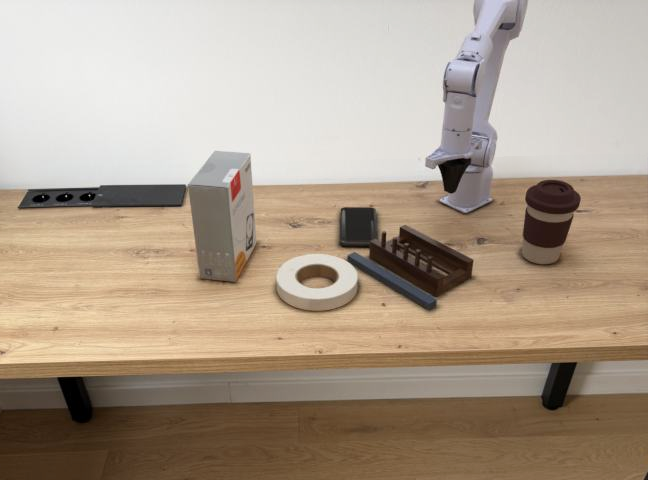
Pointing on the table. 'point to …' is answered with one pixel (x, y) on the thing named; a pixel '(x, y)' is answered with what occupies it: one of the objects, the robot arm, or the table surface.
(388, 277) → the rail
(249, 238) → the hard drive box
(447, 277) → the rack
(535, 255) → the coffee cup
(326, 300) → the tape roll
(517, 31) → the robot arm
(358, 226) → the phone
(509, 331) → the table surface
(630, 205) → the table surface
